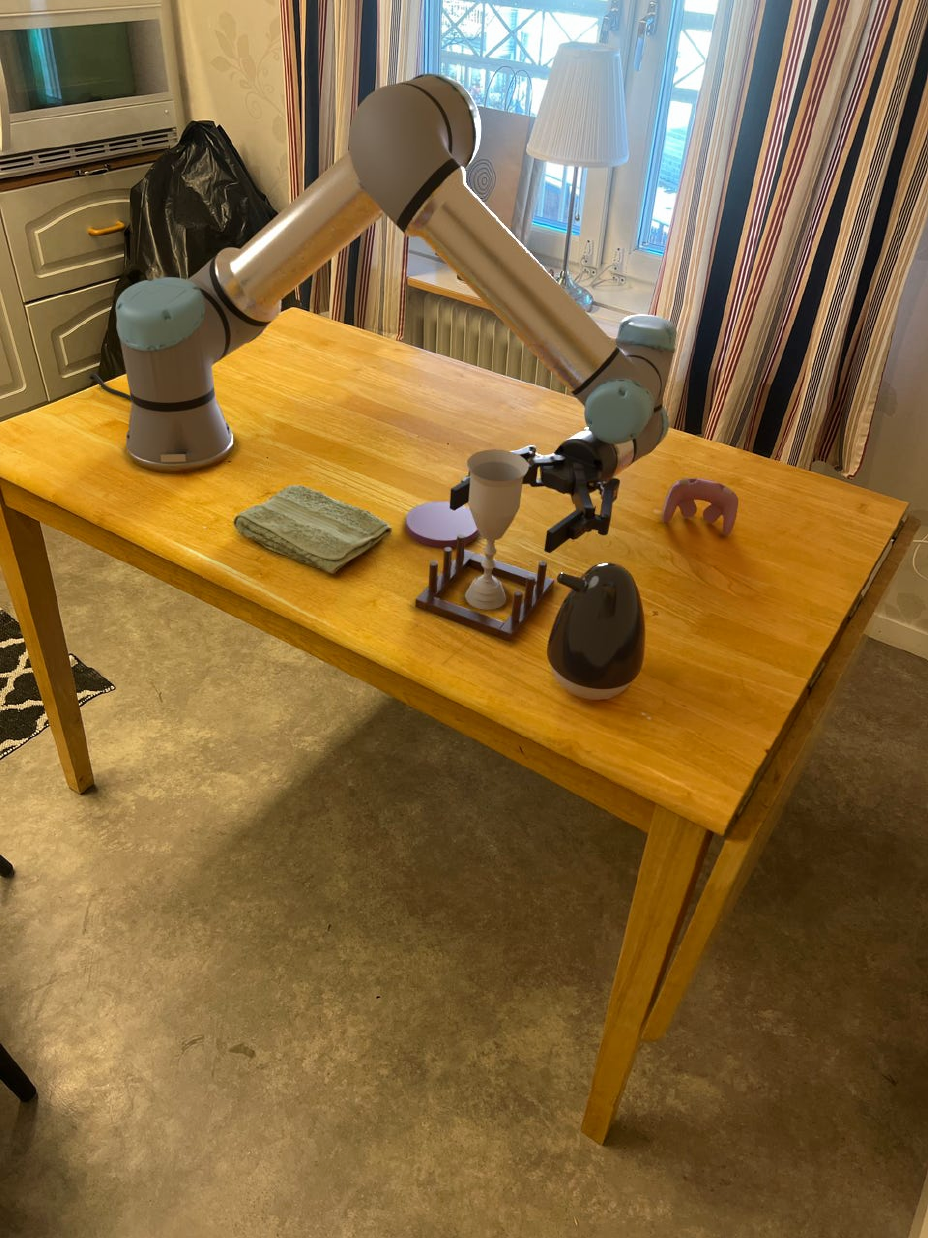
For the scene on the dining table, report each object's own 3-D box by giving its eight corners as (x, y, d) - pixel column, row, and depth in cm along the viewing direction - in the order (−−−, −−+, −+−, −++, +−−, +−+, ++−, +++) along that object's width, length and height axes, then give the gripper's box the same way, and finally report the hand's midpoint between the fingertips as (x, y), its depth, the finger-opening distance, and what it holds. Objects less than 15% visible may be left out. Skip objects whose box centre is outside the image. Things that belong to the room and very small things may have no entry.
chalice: (508, 619, 105) (523, 485, 94) (452, 609, 106) (460, 475, 95) (517, 584, 110) (533, 454, 99) (464, 575, 111) (473, 445, 100)
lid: (391, 533, 118) (391, 525, 117) (428, 501, 125) (428, 494, 124) (457, 556, 115) (458, 548, 114) (491, 521, 122) (492, 514, 121)
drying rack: (414, 607, 106) (416, 572, 103) (463, 556, 115) (466, 523, 112) (510, 642, 101) (514, 607, 98) (553, 587, 110) (558, 554, 107)
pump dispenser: (534, 652, 100) (550, 538, 91) (624, 651, 101) (649, 539, 92) (548, 715, 92) (567, 598, 83) (646, 714, 93) (675, 598, 84)
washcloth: (334, 583, 108) (333, 561, 106) (228, 534, 115) (225, 513, 113) (397, 537, 117) (397, 516, 115) (295, 494, 124) (294, 474, 122)
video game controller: (730, 535, 126) (743, 486, 124) (731, 537, 121) (744, 487, 120) (661, 520, 128) (673, 472, 126) (659, 522, 123) (671, 472, 122)
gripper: (672, 516, 113) (586, 589, 99) (512, 452, 124) (415, 510, 110) (685, 463, 108) (597, 532, 95) (517, 401, 120) (416, 455, 106)
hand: (498, 520), depth 102 cm, fingers open, 13 cm apart
